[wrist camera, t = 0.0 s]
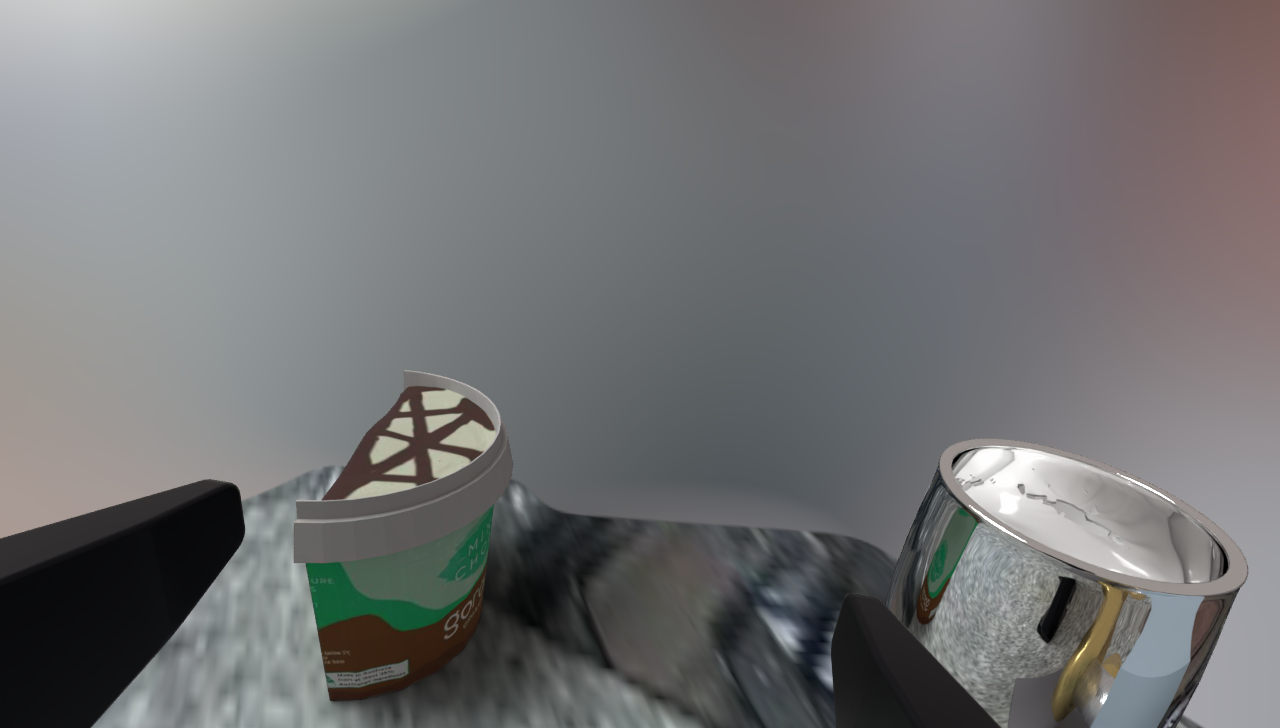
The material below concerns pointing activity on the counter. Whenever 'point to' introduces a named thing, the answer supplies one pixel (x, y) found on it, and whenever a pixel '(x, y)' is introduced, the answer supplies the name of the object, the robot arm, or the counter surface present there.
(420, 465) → the food container
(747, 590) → the counter surface
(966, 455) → the beer glass
